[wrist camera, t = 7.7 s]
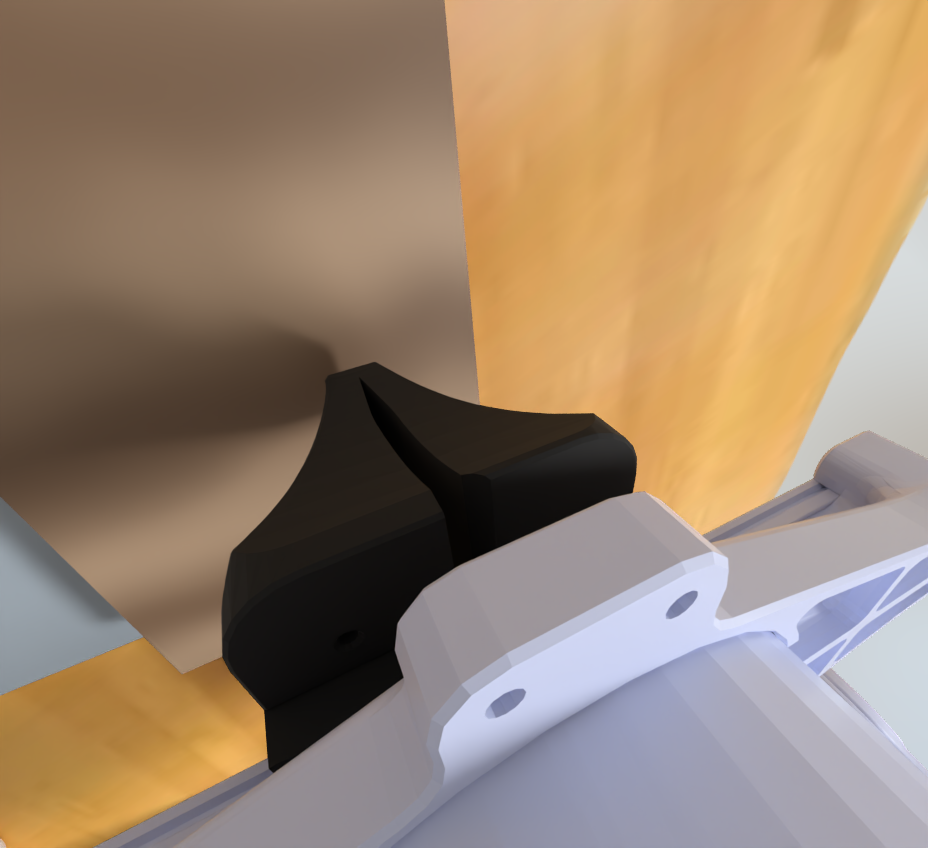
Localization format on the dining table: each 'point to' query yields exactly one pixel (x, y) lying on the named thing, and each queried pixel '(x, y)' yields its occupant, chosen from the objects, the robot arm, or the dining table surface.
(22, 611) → the mat
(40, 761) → the dining table surface
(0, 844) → the pill bottle
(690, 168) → the dining table surface
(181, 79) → the brown flat block
